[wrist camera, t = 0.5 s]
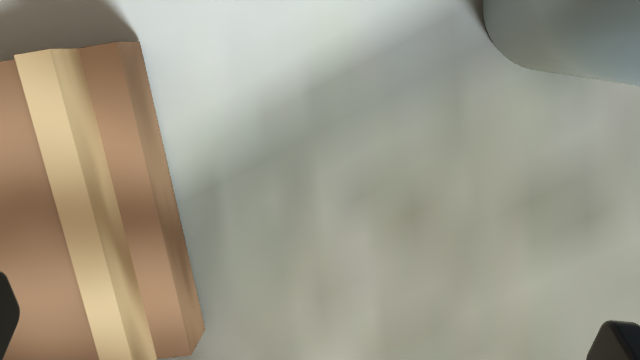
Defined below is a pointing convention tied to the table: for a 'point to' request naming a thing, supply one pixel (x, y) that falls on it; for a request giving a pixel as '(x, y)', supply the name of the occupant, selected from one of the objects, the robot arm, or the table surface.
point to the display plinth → (90, 211)
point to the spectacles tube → (569, 36)
